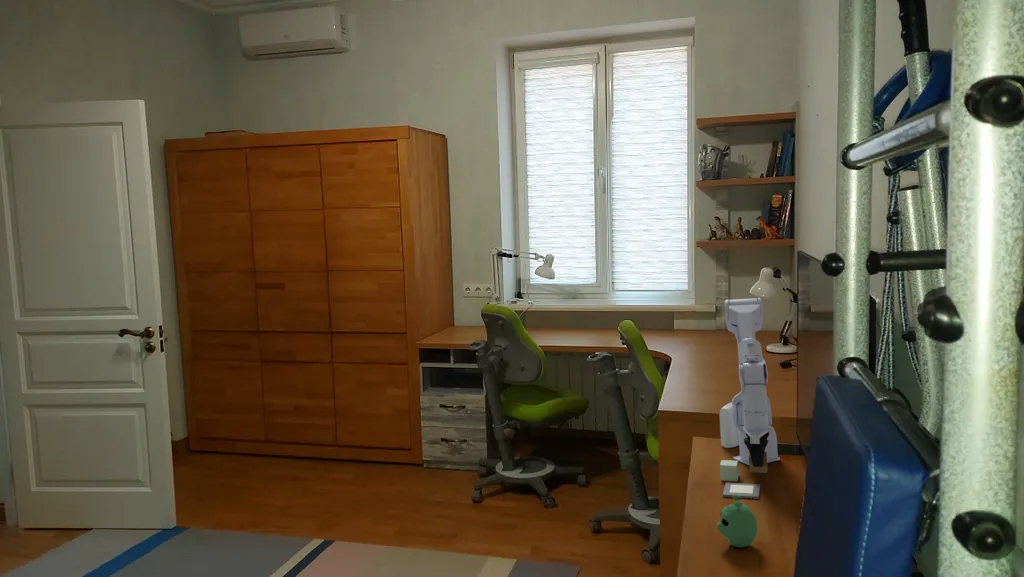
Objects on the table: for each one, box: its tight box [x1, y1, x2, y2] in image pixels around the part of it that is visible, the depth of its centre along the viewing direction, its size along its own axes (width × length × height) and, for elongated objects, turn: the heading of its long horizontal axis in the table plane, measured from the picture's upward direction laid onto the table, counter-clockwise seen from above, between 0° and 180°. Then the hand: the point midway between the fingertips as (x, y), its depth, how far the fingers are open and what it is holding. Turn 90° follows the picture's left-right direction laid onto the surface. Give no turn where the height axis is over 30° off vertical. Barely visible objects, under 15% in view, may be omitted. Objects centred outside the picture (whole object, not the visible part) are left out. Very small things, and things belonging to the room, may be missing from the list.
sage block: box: [719, 459, 740, 482], centre depth 177 cm, size 4×4×4 cm
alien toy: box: [716, 495, 758, 548], centre depth 139 cm, size 7×8×10 cm
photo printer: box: [718, 401, 739, 449], centre depth 203 cm, size 10×4×12 cm, turn 123°
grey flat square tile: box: [722, 482, 761, 500], centre depth 167 cm, size 8×8×1 cm
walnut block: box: [748, 452, 769, 474], centre depth 174 cm, size 4×4×4 cm
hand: (758, 463), depth 174 cm, fingers closed on walnut block, 4 cm apart
